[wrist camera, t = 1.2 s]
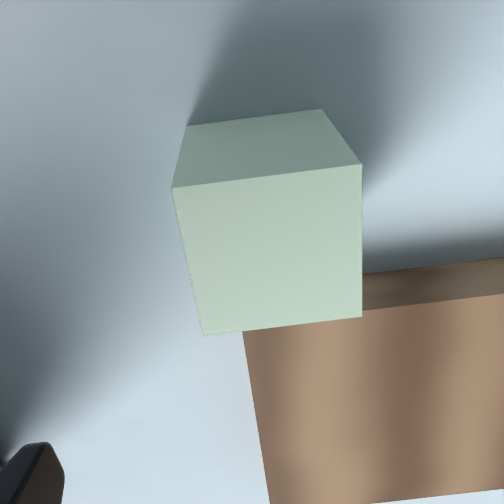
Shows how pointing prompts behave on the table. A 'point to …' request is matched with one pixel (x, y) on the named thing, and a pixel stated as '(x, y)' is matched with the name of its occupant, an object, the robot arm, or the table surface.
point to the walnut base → (387, 391)
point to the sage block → (270, 221)
